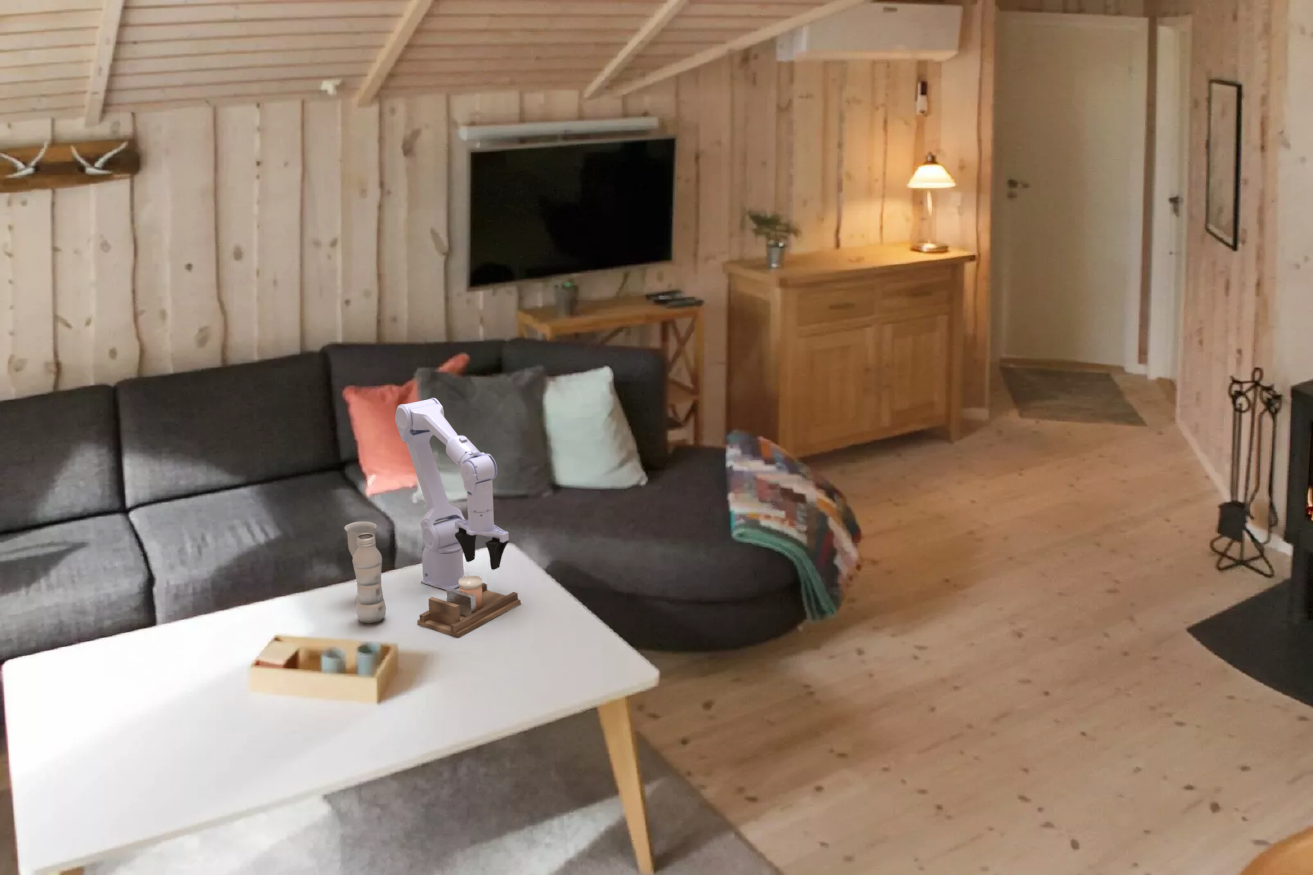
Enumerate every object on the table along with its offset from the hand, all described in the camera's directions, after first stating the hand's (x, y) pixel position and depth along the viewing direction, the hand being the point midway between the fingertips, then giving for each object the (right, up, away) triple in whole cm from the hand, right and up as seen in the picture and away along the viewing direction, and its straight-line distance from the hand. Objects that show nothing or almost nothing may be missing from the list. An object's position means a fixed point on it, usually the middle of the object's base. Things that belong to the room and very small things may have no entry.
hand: (482, 564), depth 300 cm
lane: (-3, -11, -3) cm, 12 cm away
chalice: (-27, -9, +4) cm, 29 cm away
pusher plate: (-4, -10, -6) cm, 12 cm away
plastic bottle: (-24, -12, -6) cm, 27 cm away
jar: (-2, -10, -3) cm, 10 cm away
